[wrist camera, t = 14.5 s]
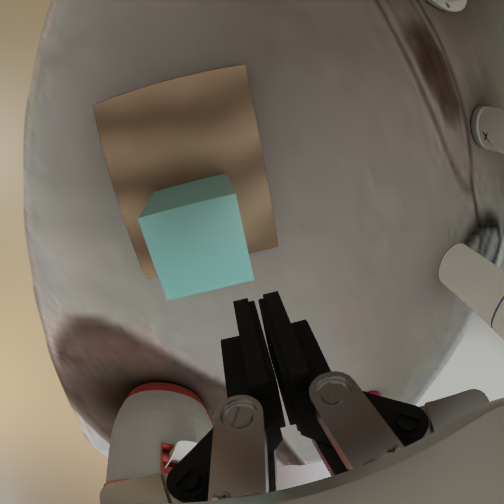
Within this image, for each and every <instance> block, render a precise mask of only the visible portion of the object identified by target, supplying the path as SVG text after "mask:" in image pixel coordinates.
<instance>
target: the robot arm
mask: <svg viewBox="0 0 504 504" xmlns="http://www.w3.org/2000/svg"><path fill="white" fill-rule="evenodd" d="M427 1H428V2H429V3H431V4H432V5H433V6H435V7H437V8H438V9H440V10H443V11H445V12H451V13H453V12H458V11H462V10H463V9H464V8H465V6H466V3H467V0H427ZM233 303H234V308H235V314H236V320H237V325H238V331H239V336H236V337H232V338H227V339H222V340H221V347H222V356H223V365H224V373H225V381H226V389H227V397H228V398H227V399H225V400H224V401H223V402H221V403H220V404H219V406H218V407H217V409H216V412H215V415H214V427H213V428H212V429H211V430H210V431H209V432H208V433H207V434H206V435H205V436H204V437H203V438H202V439H201V440H200V441H199V442H198V443H197V444H196V445H195V446H194V448H193V449H192V450H191V451H190V452H189V453H188V454H187V455H186V456H185V457H184V458H182V459H181V460H180V461H179V462H178V463H177V464H176V465H175V466H174V467H173V468H172V469H171V471H170V472H168V473H164V474H161V473H155V474H151V475H147V476H142V477H138V478H133V479H128V480H123V481H117V482H112V483H109V484H107V485H106V486H104V487H103V488H102V490H101V492H100V504H504V398H501V399H497V400H494V401H491V402H489V400H488V398H487V396H486V395H485V393H483V392H482V391H480V390H476V389H471V390H467V391H464V392H461V393H458V394H455V395H452V396H448V397H445V398H442V399H439V400H435V401H431V402H427V403H425V405H424V406H421V407H417V406H415V405H411V404H407V403H404V402H400V401H396V400H392V399H389V398H385V397H381V396H378V395H374V394H371V393H368V392H364V391H362V390H361V389H360V387H359V386H358V385H357V384H356V382H355V381H354V380H353V379H352V378H351V377H350V376H349V375H347V374H345V373H342V372H337V371H334V372H331V371H330V368H329V366H328V364H327V362H326V360H325V358H324V356H323V354H322V351H321V349H320V347H319V345H318V343H317V341H316V339H315V337H314V335H313V332H312V330H311V328H310V326H309V324H308V322H307V321H306V320H302V321H298V322H294V323H290V320H289V318H288V315H287V313H286V310H285V308H284V305H283V303H282V301H281V298H280V296H279V293H278V291H276V292H272V293H268V294H263V299H259V305H260V310H261V315H262V320H263V325H264V330H265V335H266V340H267V344H268V349H269V352H268V349H267V345H266V342H265V338H264V334H263V331H262V327H261V324H260V320H259V317H258V313H257V310H256V306H255V302H254V301H251V302H248V298H246V299H242V300H238V301H233ZM269 353H270V356H269ZM270 357H271V359H270ZM271 361H272V363H271ZM272 364H273V366H272ZM273 368H274V370H273ZM274 371H275V373H274ZM275 375H276V377H275ZM276 378H277V381H276ZM277 382H278V385H279V389H280V392H281V395H282V399H283V402H284V406H285V409H286V413H287V416H288V419H289V423H290V425H293V424H296V426H297V429H298V431H300V432H301V435H303V436H306V437H308V438H311V439H312V442H313V444H314V446H315V448H316V449H317V451H318V453H319V455H320V457H321V458H322V460H323V462H324V464H325V465H326V467H327V469H328V471H329V472H330V474H331V477H328V478H325V479H322V480H318V481H315V482H311V483H308V484H304V485H300V486H296V487H292V488H288V489H284V490H279V491H278V485H277V466H276V451H275V449H276V448H277V446H278V445H279V444H280V442H281V441H282V440H283V438H282V434H281V430H280V428H282V427H286V426H285V421H284V416H283V411H282V406H281V401H280V396H279V390H278V385H277Z"/></svg>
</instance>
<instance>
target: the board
mask: <svg viewBox="0 0 504 504" xmlns="http://www.w3.org/2000/svg"><path fill="white" fill-rule="evenodd" d="M93 110H94V114H95V119H96V123H97V128H98V132H99V136H100V140H101V144H102V148H103V152H104V156H105V159H106V163H107V167H108V170H109V174H110V177H111V181H112V184H113V187H114V191H115V194H116V197H117V200H118V203H119V206H120V210H121V213H122V216H123V219H124V222H125V224H126V227H127V230H128V233H129V236H130V239H131V242H132V244H133V247H134V250H135V252H136V255H137V258H138V260H139V263H140V266H141V268H142V271H143V273H144V276H145V278H150V277H154V276H158V275H157V272H156V269H155V267H154V264H153V261H152V258H151V256H150V253H149V250H148V247H147V245H146V242H145V239H144V236H143V233H142V230H141V227H140V224H139V221H138V217H139V215H140V214H141V212H142V210H143V209H144V207H145V205H146V204H147V202H148V200H149V199H150V197H151V195H152V194H153V192H154V191H158V190H161V189H165V188H169V187H172V186H176V185H180V184H184V183H188V182H192V181H196V180H200V179H204V178H208V177H212V176H216V175H220V174H225V173H226V174H227V176H228V178H229V180H230V182H231V184H232V186H233V189H234V191H235V193H236V197H237V202H238V206H239V211H240V216H241V221H242V225H243V230H244V235H245V239H246V244H247V249H248V253H249V254H250V253H254V252H258V251H262V250H266V249H271V248H275V247H278V242H277V235H276V229H275V223H274V217H273V211H272V205H271V199H270V193H269V188H268V182H267V176H266V170H265V165H264V159H263V154H262V148H261V143H260V137H259V132H258V127H257V121H256V116H255V111H254V106H253V101H252V96H251V91H250V86H249V81H248V76H247V71H246V66H245V65H239V66H233V67H227V68H221V69H216V70H211V71H206V72H201V73H197V74H192V75H188V76H184V77H180V78H176V79H172V80H168V81H164V82H161V83H157V84H154V85H150V86H147V87H144V88H141V89H137V90H134V91H131V92H128V93H125V94H122V95H120V96H117V97H114V98H111V99H108V100H106V101H103V102H101V103H98V104H95V105H93Z"/></svg>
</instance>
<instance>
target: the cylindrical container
mask: <svg viewBox="0 0 504 504" xmlns="http://www.w3.org/2000/svg"><path fill="white" fill-rule="evenodd" d="M438 274H439V279H440V281H441V282H442V283H443V284H444V285H445V286H446V287H448V288H449V289H450V290H451V291H452V292H453V293H454V294H456V295H457V296H458V297H459V298H460V299H461V300H462V301H464V302H465V303H466V304H467V305H468V306H469V307H470V308H471V309H472V310H473V311H475V312H476V313H477V314H478V315H479V316H480V317H481V318H482V319H483V320H484V321H485V322H486V323H487V324H488V325H489V326H490V327H491V328H493V330H494V331H495V332H496V333H498V334H499V335H500V336H501V337H502V339H503V340H504V272H503V271H502V270H501V269H500V268H498V267H497V266H495V265H494V264H493V263H491V262H490V261H488V260H487V259H485V258H484V257H483V256H481V255H480V254H478V253H477V252H475V251H474V250H472V249H471V248H469V247H468V246H466V245H465V244H462V243H458V244H456V245H454V246H453V247H451V248H450V249H449V250H448V251H447V253H446V254H445V256H444V257H443V259H442V261H441V264H440V267H439V273H438Z"/></svg>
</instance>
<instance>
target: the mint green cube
mask: <svg viewBox="0 0 504 504" xmlns="http://www.w3.org/2000/svg"><path fill="white" fill-rule="evenodd" d="M138 221H139V224H140V227H141V230H142V233H143V236H144V239H145V242H146V245H147V247H148V250H149V253H150V256H151V258H152V261H153V264H154V267H155V269H156V272H157V275H158V277H159V280H160V282H161V285H162V287H163V290H164V293H165V295H166V298H167V300H172V299H176V298H181V297H185V296H189V295H194V294H198V293H202V292H207V291H211V290H215V289H219V288H223V287H228V286H232V285H236V284H240V283H244V282H248V281H252V280H254V277H253V272H252V267H251V263H250V258H249V253H248V249H247V244H246V239H245V235H244V230H243V225H242V221H241V216H240V211H239V206H238V202H237V197H236V193H235V191H234V189H233V186H232V184H231V182H230V180H229V178H228V176H227V174H226V173H225V174H220V175H216V176H212V177H208V178H204V179H200V180H196V181H192V182H188V183H184V184H180V185H176V186H172V187H169V188H165V189H161V190H158V191H154V192H153V194H152V195H151V197H150V199H149V200H148V202H147V204H146V205H145V207H144V209H143V210H142V212H141V214H140V215H139V217H138Z"/></svg>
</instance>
